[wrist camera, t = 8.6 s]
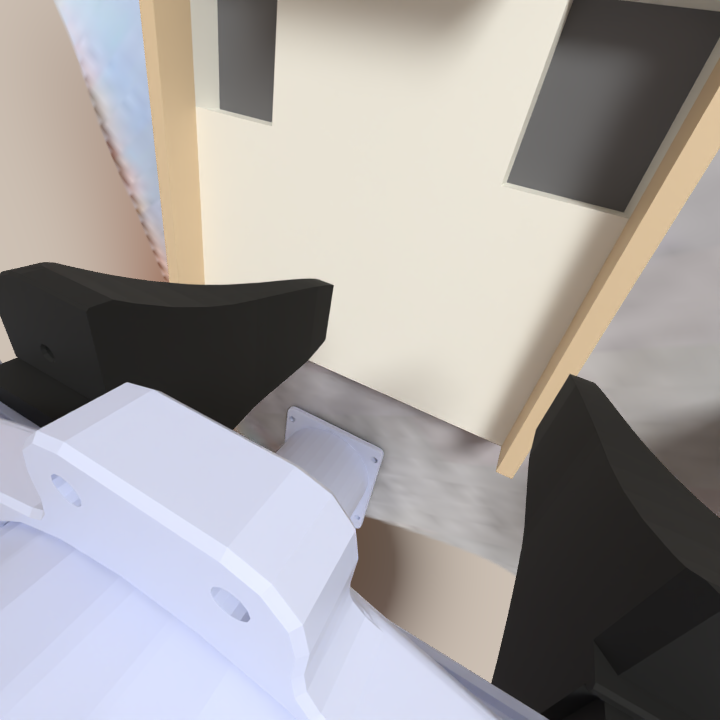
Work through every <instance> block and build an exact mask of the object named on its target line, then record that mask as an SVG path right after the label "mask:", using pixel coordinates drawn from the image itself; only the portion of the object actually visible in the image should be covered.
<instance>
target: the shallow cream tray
mask: <svg viewBox="0 0 720 720" xmlns="http://www.w3.org/2000/svg"><path fill="white" fill-rule="evenodd" d="M139 4H140V13H141V22H142V32H143V41H144V50H145V60H146V69H147V78H148V87H149V97H150V106H151V115H152V125H153V134H154V143H155V152H156V162H157V171H158V180H159V190H160V199H161V208H162V218H163V227H164V236H165V245H166V255H167V264H168V273H169V283H180V284H199V285H227V284H244V283H259V282H270V281H280V280H291V279H307V278H312V279H319V280H322V281H324V282H327V283H330V284H332V285H334V288H333V294H332V301H331V307H330V314H329V320H328V327H327V334H326V340H325V341H324V342H323V344H322V345H321V346H320V347H319V349H318V350H317V351H316V352H315V353H314V354H313V356H312V357H311V358H310V359H309V361H311V362H313V363H316V364H318V365H320V366H322V367H325V368H327V369H329V370H331V371H333V372H336V373H338V374H340V375H342V376H345V377H347V378H349V379H351V380H354V381H356V382H358V383H360V384H363V385H365V386H367V387H369V388H372V389H374V390H376V391H378V392H381V393H383V394H385V395H387V396H390V397H392V398H394V399H396V400H398V401H401V402H403V403H405V404H407V405H410V406H412V407H414V408H416V409H419V410H421V411H423V412H425V413H428V414H430V415H432V416H434V417H437V418H439V419H441V420H443V421H446V422H448V423H450V424H452V425H454V426H457V427H459V428H461V429H463V430H466V431H468V432H470V433H472V434H475V435H477V436H479V437H481V438H484V439H486V440H488V441H490V442H493V443H495V444H497V445H499V446H501V451H500V455H499V460H498V464H497V469H496V472H498V473H500V474H502V475H504V476H506V477H509V478H511V479H512V478H513V477H514V475H515V473H516V472H517V470H518V469H519V467H520V465H521V464H522V462H523V461H524V459H525V457H526V456H527V454H528V453H529V451H530V450H531V448H532V444H533V440H534V435H535V431H536V428H537V427H538V425H539V424H540V422H541V420H542V419H543V417H544V415H545V414H546V412H547V410H548V409H549V407H550V406H551V404H552V402H553V401H554V399H555V397H556V396H557V394H558V392H559V391H560V389H561V388H562V386H563V384H564V383H565V381H566V379H567V378H568V376H569V375H570V374H572V375H575V376H577V375H578V373H579V371H580V370H581V368H582V367H583V365H584V363H585V362H586V360H587V359H588V357H589V355H590V354H591V352H592V351H593V349H594V347H595V346H596V344H597V343H598V341H599V339H600V338H601V336H602V335H603V333H604V332H605V330H606V328H607V327H608V325H609V324H610V322H611V320H612V319H613V317H614V316H615V314H616V312H617V311H618V309H619V308H620V306H621V304H622V303H623V301H624V300H625V298H626V296H627V295H628V293H629V292H630V290H631V288H632V287H633V285H634V284H635V282H636V281H637V279H638V277H639V276H640V274H641V273H642V271H643V269H644V268H645V266H646V265H647V263H648V261H649V260H650V258H651V257H652V255H653V253H654V252H655V250H656V249H657V247H658V245H659V244H660V242H661V241H662V239H663V237H664V236H665V234H666V233H667V231H668V229H669V228H670V226H671V225H672V223H673V222H674V220H675V218H676V217H677V215H678V214H679V212H680V210H681V209H682V207H683V206H684V204H685V202H686V201H687V199H688V198H689V196H690V194H691V193H692V191H693V190H694V188H695V186H696V185H697V183H698V182H699V180H700V178H701V177H702V175H703V174H704V172H705V170H706V169H707V167H708V166H709V164H710V163H711V161H712V159H713V158H714V156H715V155H716V153H717V151H718V150H719V148H720V0H139Z"/></svg>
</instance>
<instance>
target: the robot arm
mask: <svg viewBox="0 0 720 720" xmlns="http://www.w3.org/2000/svg"><path fill="white" fill-rule="evenodd" d="M333 288H334V285H332V284H330V283H327V282H324V281H322V280H319V279H312V278H307V279H291V280H280V281H270V282H259V283H244V284H227V285H199V284H180V283H168V282H155V281H147V280H139V279H132V278H126V277H120V276H114V275H108V274H103V273H98V272H93V271H88V270H84V269H80V268H75V267H70V266H66V265H61V264H58V263H49V262H43V263H38V264H33V265H29V266H25V267H20V268H17V269H12V270H7V271H3V272H1V273H0V316H1V319H2V321H3V324H4V327H5V329H6V331H7V334H8V336H9V339H10V342H11V344H12V347H13V349H14V352H15V354H16V356H17V357H18V358H15V359H13V360H10V361H8V362H5V363H2V362H1V361H0V720H720V518H719V517H718V516H716V515H715V514H714V513H713V512H712V511H711V510H709V509H708V508H707V507H706V506H705V505H704V504H703V503H702V502H700V501H699V500H698V499H697V498H696V497H695V496H694V495H693V494H692V493H691V492H690V491H689V490H688V489H687V488H686V487H685V486H684V485H683V484H682V483H680V482H679V481H678V480H677V479H676V478H675V477H674V476H673V475H672V474H671V473H670V472H669V471H668V470H667V469H666V468H665V466H664V465H663V464H662V463H661V462H660V461H659V460H658V459H657V458H656V457H655V455H654V454H653V453H652V452H651V451H650V450H649V449H648V448H647V447H646V445H645V444H644V443H643V442H642V441H641V440H640V438H639V437H638V436H637V435H636V434H635V432H634V431H633V430H632V429H631V427H630V426H629V425H628V424H627V422H626V421H625V420H624V419H623V417H622V416H621V415H620V413H619V412H618V411H617V410H616V408H615V407H614V406H613V404H612V403H611V402H610V400H609V399H608V398H607V397H606V395H605V394H604V393H603V392H602V391H601V389H600V388H599V387H598V386H597V385H596V384H595V383H593V382H591V381H588V380H585V379H583V378H580V377H577V376H575V375H572V374H570V375H569V376H568V378H567V379H566V381H565V383H564V384H563V386H562V388H561V389H560V391H559V392H558V394H557V396H556V397H555V399H554V401H553V402H552V404H551V406H550V407H549V409H548V410H547V412H546V414H545V415H544V417H543V419H542V420H541V422H540V424H539V425H538V427H537V428H536V431H535V435H534V440H533V444H532V448H531V452H530V457H529V467H528V481H527V496H526V511H525V527H524V536H523V544H522V549H521V554H520V559H519V565H518V570H517V575H516V580H515V585H514V589H513V595H512V599H511V603H510V608H509V613H508V617H507V621H506V626H505V630H504V635H503V638H502V643H501V647H500V651H499V655H498V660H497V664H496V667H495V671H494V675H493V679H492V683H489V682H488V681H486V680H485V679H483V678H481V677H480V676H478V675H476V674H475V673H473V672H472V671H470V670H468V669H467V668H465V667H464V666H462V665H460V664H459V663H457V662H456V661H454V660H452V659H451V658H449V657H448V656H446V655H444V654H443V653H441V652H439V651H438V650H436V649H435V648H433V647H431V646H430V645H428V644H427V643H425V642H423V641H422V640H420V639H418V638H417V637H415V636H413V635H412V634H410V633H409V632H407V631H406V630H404V629H402V628H401V627H399V626H398V625H396V624H394V623H393V622H391V621H390V620H388V619H387V618H385V617H384V616H383V615H382V614H381V613H380V612H379V611H377V610H376V609H375V608H374V607H373V606H372V605H371V604H369V603H368V602H367V601H366V600H365V599H364V598H362V597H361V596H360V595H359V594H358V593H357V592H356V591H355V590H353V589H352V588H351V587H350V582H351V579H352V576H353V573H354V570H355V567H356V564H357V561H358V551H357V539H356V530H355V528H360V527H361V525H362V523H363V520H364V516H365V513H366V510H367V507H368V504H369V501H370V497H371V494H372V491H373V488H374V485H375V482H376V479H377V475H378V472H379V469H380V466H381V463H382V460H383V456H384V452H383V451H382V449H380V448H379V447H377V446H375V445H373V444H371V443H369V442H367V441H365V440H363V439H360V438H358V437H356V436H354V435H352V434H350V433H348V432H346V431H344V430H342V429H340V428H338V427H336V426H334V425H332V424H330V423H328V422H326V421H324V420H322V419H320V418H318V417H316V416H314V415H312V414H309V413H307V412H305V411H303V410H301V409H299V408H297V407H295V406H292V407H290V408H289V409H288V413H287V423H286V433H285V443H284V444H283V445H282V446H281V447H280V449H279V450H278V451H277V452H276V453H274V452H272V451H270V450H268V449H266V448H265V447H263V446H261V445H259V444H257V443H255V442H253V441H252V440H250V439H248V438H246V437H244V436H242V435H240V434H239V433H237V432H235V431H233V429H234V428H235V427H236V426H237V425H238V424H239V423H240V422H241V420H242V419H243V418H244V417H245V416H246V415H247V414H248V413H249V412H250V411H251V410H252V409H253V408H254V407H255V406H256V405H257V404H258V403H259V402H260V401H261V400H262V399H263V398H264V397H266V396H267V395H268V394H269V393H270V392H272V391H273V390H274V389H275V388H276V387H277V386H279V385H280V384H281V383H282V382H283V381H285V380H286V379H287V378H288V377H289V376H291V375H292V374H293V373H294V372H295V371H296V370H298V369H299V368H300V367H301V366H302V365H303V364H305V363H306V362H307V361H308V360H309V359H310V358H311V357H312V356H313V354H314V353H315V352H316V351H317V350H318V349H319V347H320V346H321V345H322V344H323V342H324V341H325V340H326V334H327V327H328V320H329V314H330V307H331V301H332V294H333ZM293 417H294V418H293ZM375 458H376V459H375Z"/></svg>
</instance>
